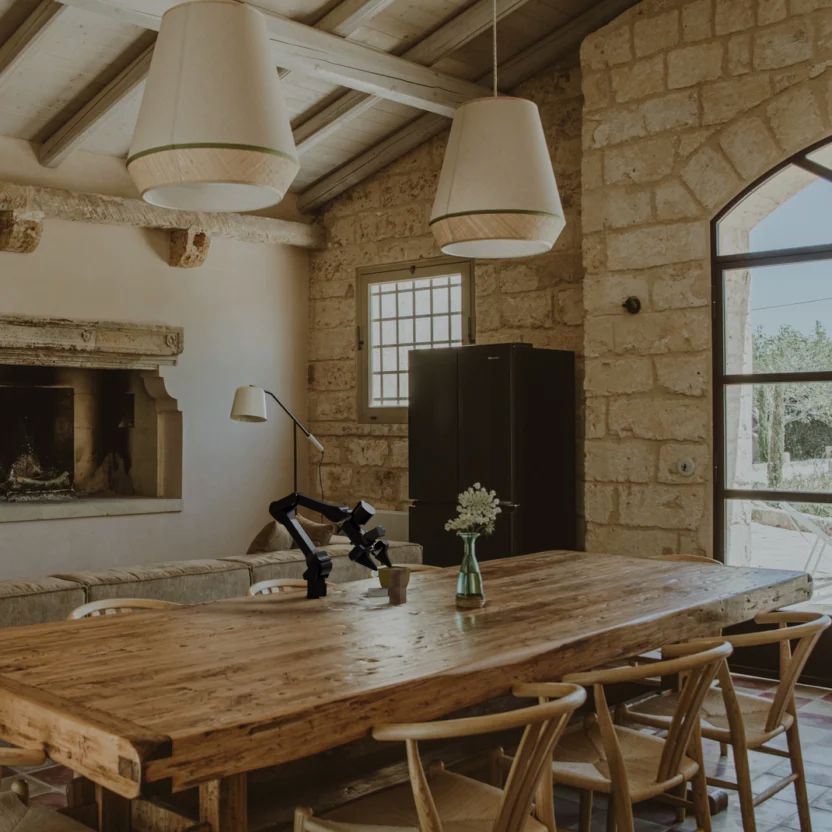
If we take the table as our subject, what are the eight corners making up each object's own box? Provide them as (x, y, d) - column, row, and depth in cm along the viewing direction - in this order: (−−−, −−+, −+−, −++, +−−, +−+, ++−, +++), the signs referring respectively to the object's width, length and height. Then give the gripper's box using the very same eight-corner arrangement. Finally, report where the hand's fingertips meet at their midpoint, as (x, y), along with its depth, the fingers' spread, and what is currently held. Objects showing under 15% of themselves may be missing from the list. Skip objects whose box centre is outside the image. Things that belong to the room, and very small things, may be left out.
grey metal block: (370, 597, 347) (370, 589, 347) (368, 595, 351) (368, 588, 351) (387, 596, 349) (387, 589, 349) (384, 594, 353) (384, 587, 353)
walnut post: (389, 605, 334) (389, 569, 334) (395, 603, 338) (395, 567, 338) (400, 606, 332) (400, 570, 332) (406, 604, 336) (406, 568, 336)
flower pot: (396, 595, 354) (396, 570, 354) (377, 593, 359) (377, 568, 359) (411, 592, 361) (411, 567, 361) (392, 590, 366) (392, 565, 366)
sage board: (370, 603, 337) (370, 602, 337) (367, 596, 353) (367, 594, 353) (411, 603, 339) (411, 601, 339) (407, 595, 354) (407, 593, 354)
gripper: (355, 520, 332) (384, 555, 327) (384, 516, 349) (412, 549, 343) (335, 543, 336) (364, 578, 331) (365, 538, 352) (392, 571, 347)
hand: (384, 568), depth 338 cm, fingers open, 9 cm apart
